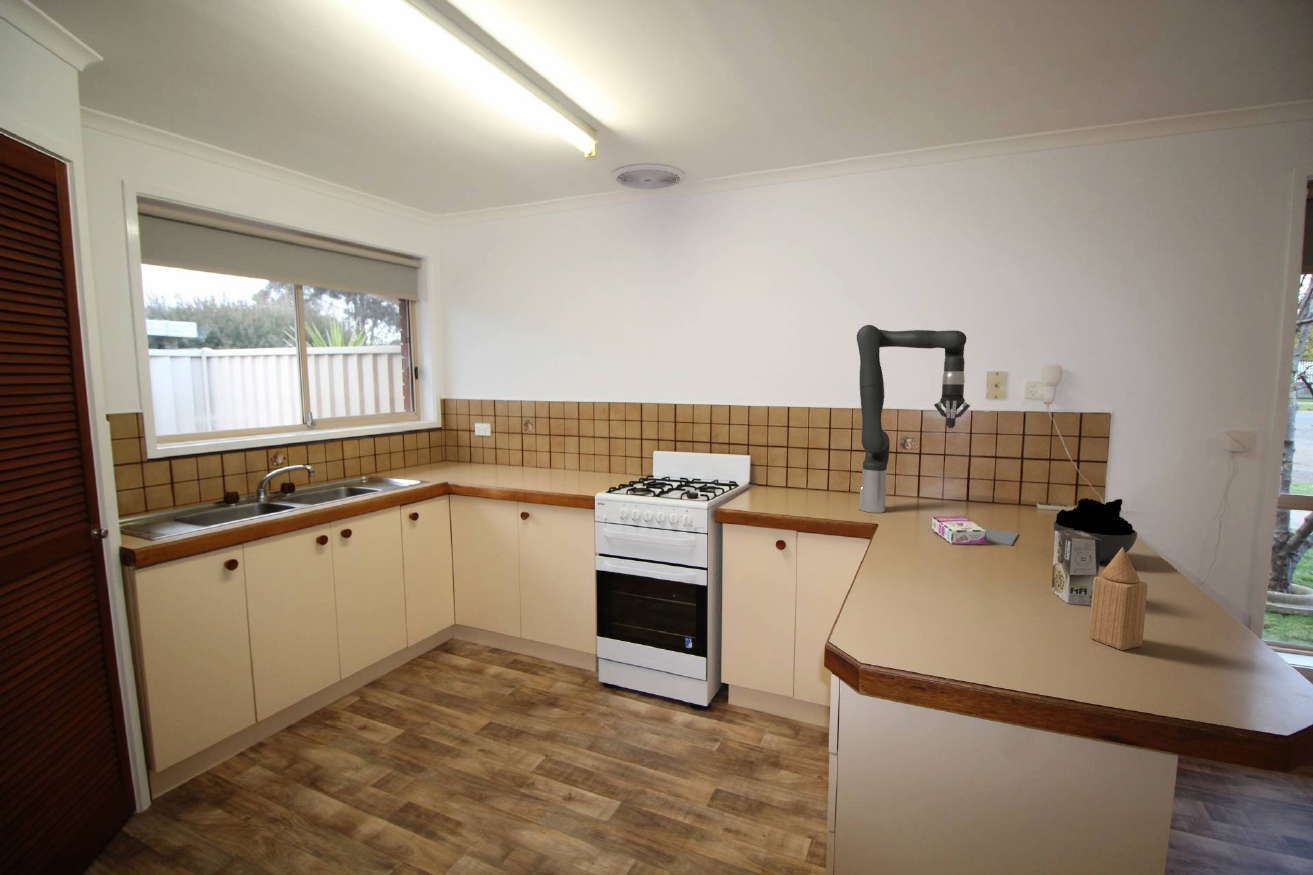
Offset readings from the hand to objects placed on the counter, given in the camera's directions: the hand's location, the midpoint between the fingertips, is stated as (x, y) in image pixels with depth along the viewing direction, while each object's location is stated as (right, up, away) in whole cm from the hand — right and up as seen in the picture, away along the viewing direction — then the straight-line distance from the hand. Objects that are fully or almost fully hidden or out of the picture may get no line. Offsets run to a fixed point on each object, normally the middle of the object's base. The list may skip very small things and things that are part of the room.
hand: (950, 427), depth 230 cm
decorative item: (-21, -46, -110) cm, 121 cm away
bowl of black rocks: (+15, -41, -53) cm, 69 cm away
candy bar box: (-12, -34, -22) cm, 42 cm away
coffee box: (-12, -43, -85) cm, 96 cm away
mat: (0, -38, -27) cm, 46 cm away
